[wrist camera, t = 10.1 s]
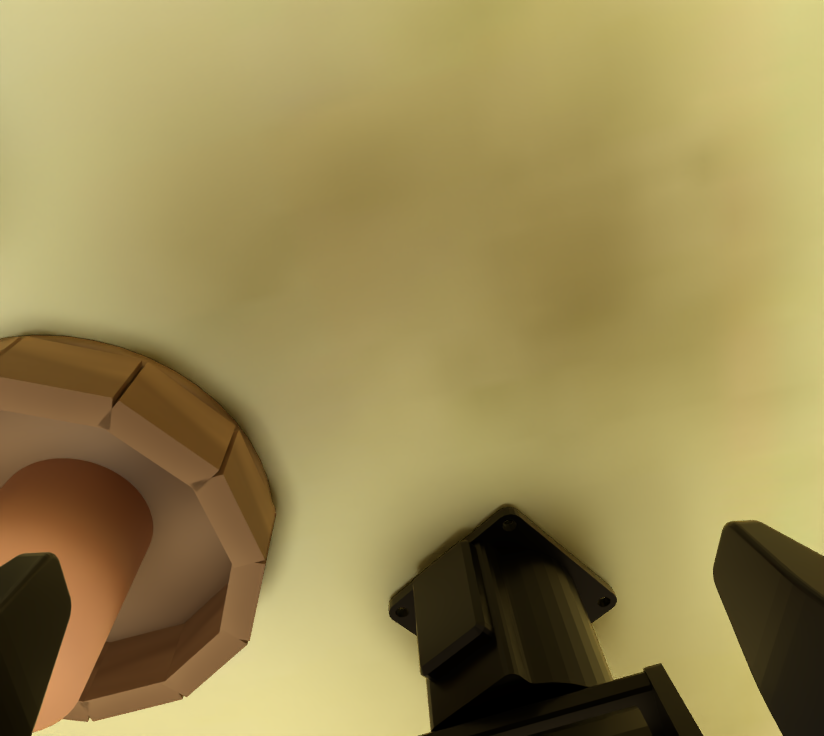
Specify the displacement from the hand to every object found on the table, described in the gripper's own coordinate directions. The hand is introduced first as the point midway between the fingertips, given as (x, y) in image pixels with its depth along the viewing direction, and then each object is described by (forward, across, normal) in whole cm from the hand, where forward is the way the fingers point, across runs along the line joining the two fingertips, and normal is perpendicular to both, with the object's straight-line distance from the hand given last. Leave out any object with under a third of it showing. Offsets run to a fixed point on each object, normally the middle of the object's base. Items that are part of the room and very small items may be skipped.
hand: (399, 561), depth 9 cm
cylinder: (+11, +11, +8) cm, 17 cm away
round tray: (+12, +11, +8) cm, 18 cm away
